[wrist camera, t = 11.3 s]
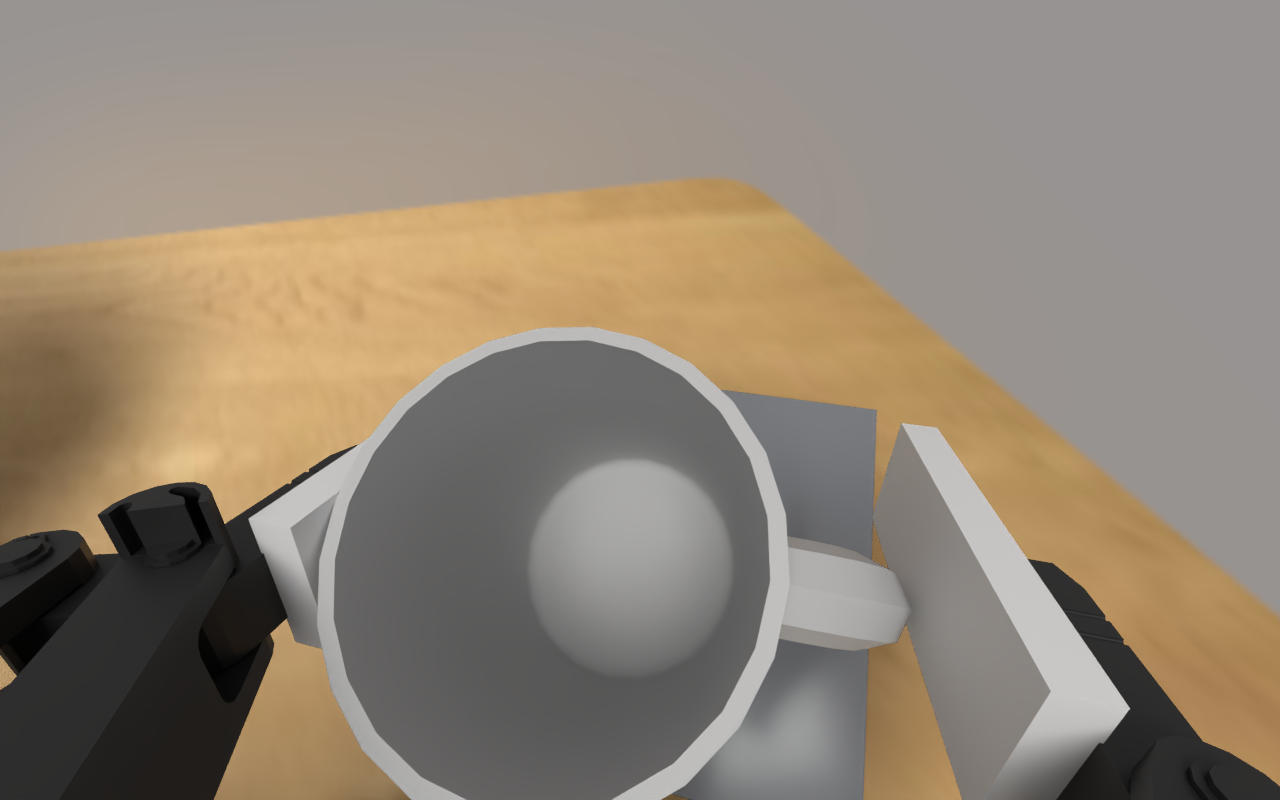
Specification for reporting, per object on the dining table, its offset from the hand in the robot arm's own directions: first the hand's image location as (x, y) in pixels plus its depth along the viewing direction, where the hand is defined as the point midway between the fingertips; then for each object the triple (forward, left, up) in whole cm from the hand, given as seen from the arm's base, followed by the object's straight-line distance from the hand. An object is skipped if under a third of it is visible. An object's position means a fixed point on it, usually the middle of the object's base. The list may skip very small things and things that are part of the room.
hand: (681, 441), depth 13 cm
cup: (0, -3, -4) cm, 5 cm away
